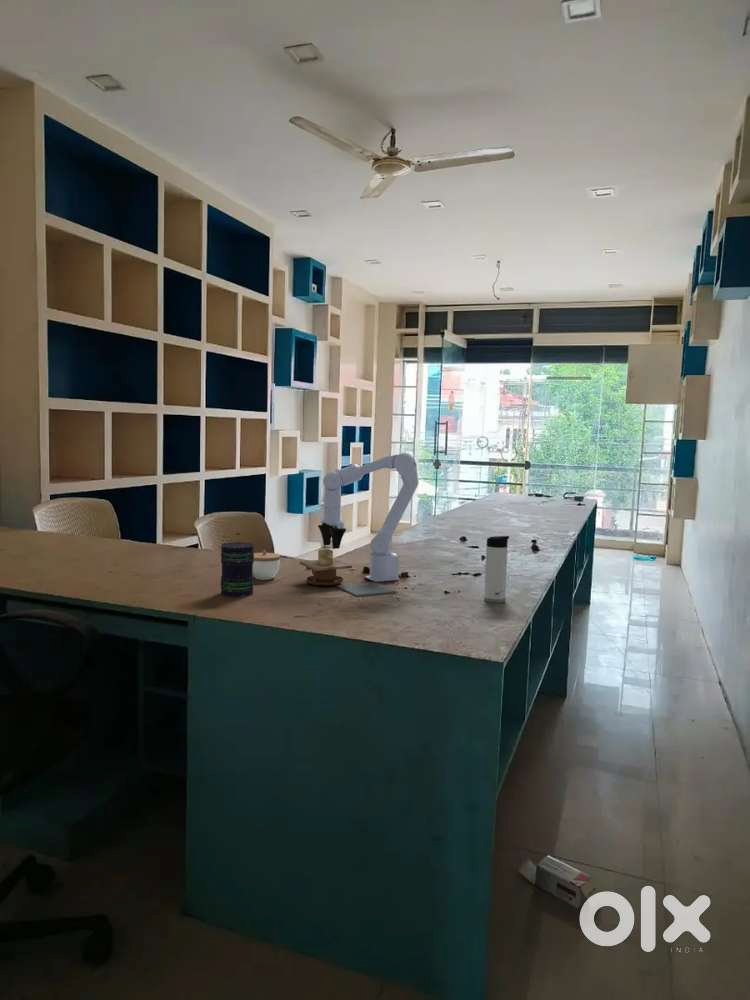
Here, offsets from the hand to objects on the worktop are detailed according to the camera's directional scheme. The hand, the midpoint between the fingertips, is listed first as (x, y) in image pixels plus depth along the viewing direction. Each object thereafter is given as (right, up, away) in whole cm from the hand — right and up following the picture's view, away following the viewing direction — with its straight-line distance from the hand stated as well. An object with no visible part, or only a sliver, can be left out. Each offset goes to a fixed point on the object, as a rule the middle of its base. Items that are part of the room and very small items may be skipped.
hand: (331, 546), depth 235 cm
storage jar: (-27, -13, -28) cm, 41 cm away
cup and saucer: (-1, -12, -11) cm, 16 cm away
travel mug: (+51, -15, -28) cm, 60 cm away
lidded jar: (-23, -10, -4) cm, 25 cm away
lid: (-1, -6, -11) cm, 13 cm away
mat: (+12, -13, -18) cm, 25 cm away
